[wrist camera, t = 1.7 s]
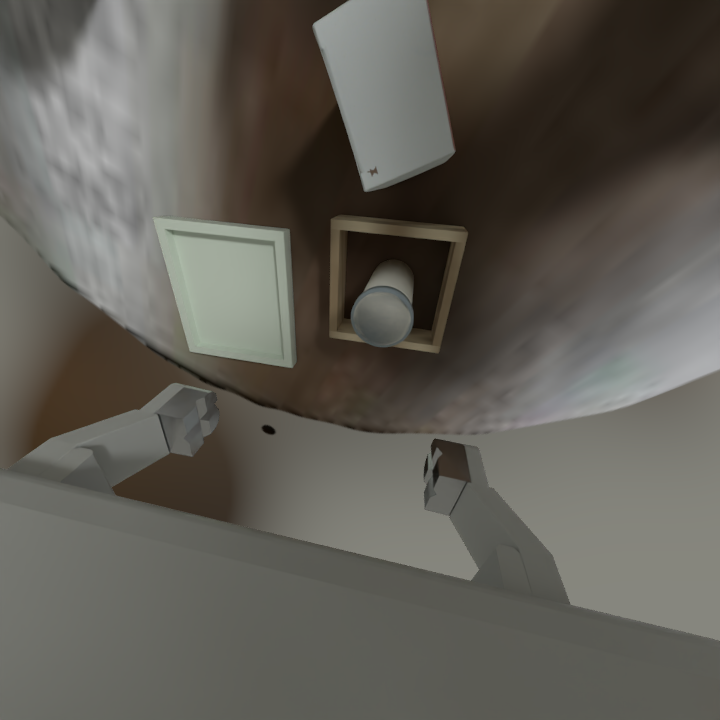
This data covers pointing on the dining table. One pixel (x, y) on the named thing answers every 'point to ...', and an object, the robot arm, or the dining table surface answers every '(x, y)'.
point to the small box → (387, 87)
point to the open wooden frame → (345, 223)
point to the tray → (232, 288)
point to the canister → (385, 305)
